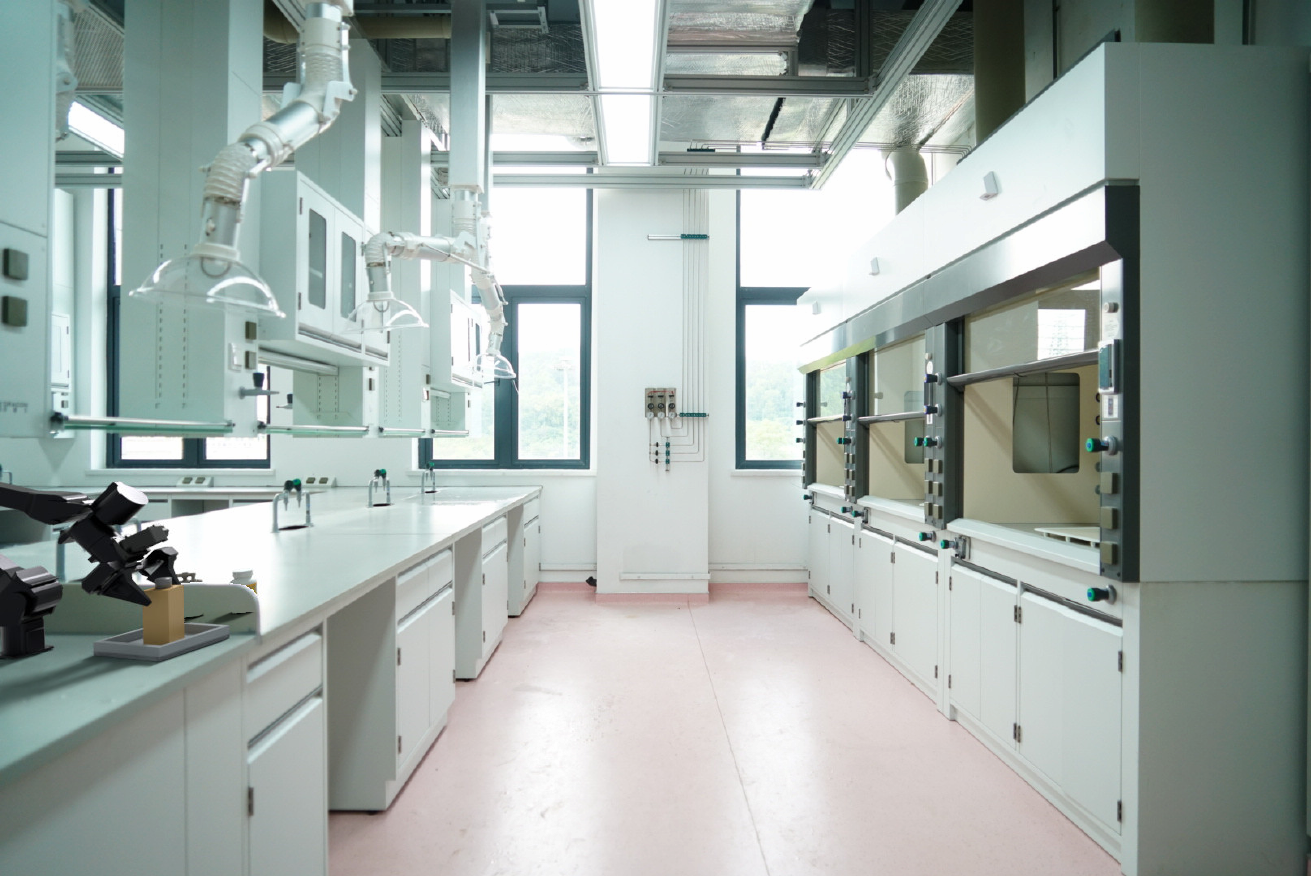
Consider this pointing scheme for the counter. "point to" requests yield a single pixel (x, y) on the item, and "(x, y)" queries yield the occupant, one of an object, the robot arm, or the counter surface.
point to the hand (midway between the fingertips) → (166, 598)
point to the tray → (134, 648)
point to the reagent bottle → (164, 613)
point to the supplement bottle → (245, 578)
